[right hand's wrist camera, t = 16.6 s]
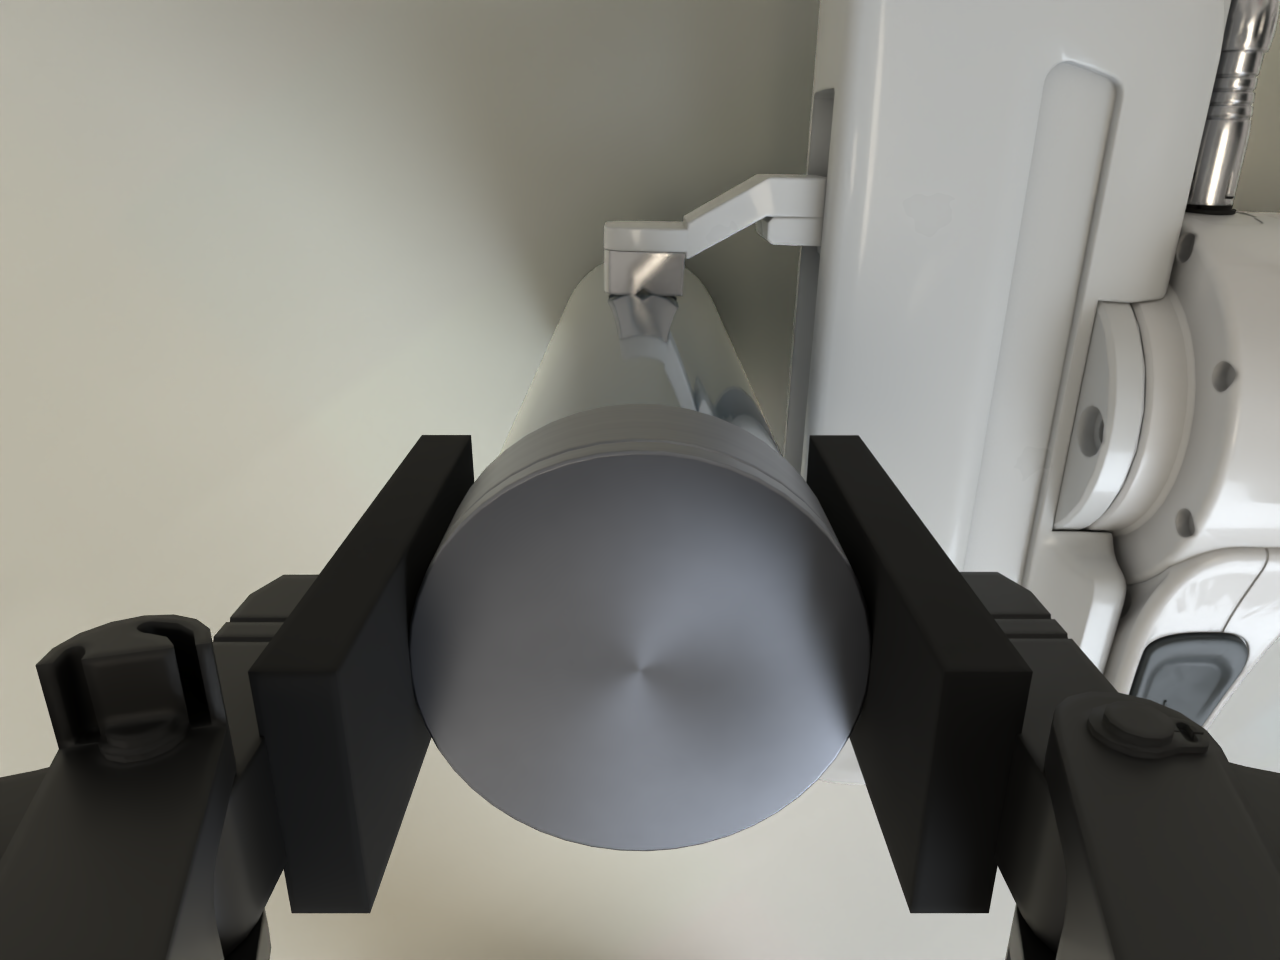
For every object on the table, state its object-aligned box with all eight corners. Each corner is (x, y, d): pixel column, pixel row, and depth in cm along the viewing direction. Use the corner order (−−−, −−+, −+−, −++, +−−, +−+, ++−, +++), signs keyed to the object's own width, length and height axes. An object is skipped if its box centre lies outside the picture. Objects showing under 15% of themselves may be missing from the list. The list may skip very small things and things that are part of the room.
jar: (728, 395, 28) (860, 779, 11) (578, 419, 29) (488, 830, 12) (707, 239, 27) (823, 417, 10) (547, 268, 27) (388, 488, 10)
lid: (786, 348, 11) (814, 389, 9) (876, 705, 12) (912, 794, 11) (378, 469, 11) (331, 530, 9) (520, 794, 13) (501, 892, 11)
